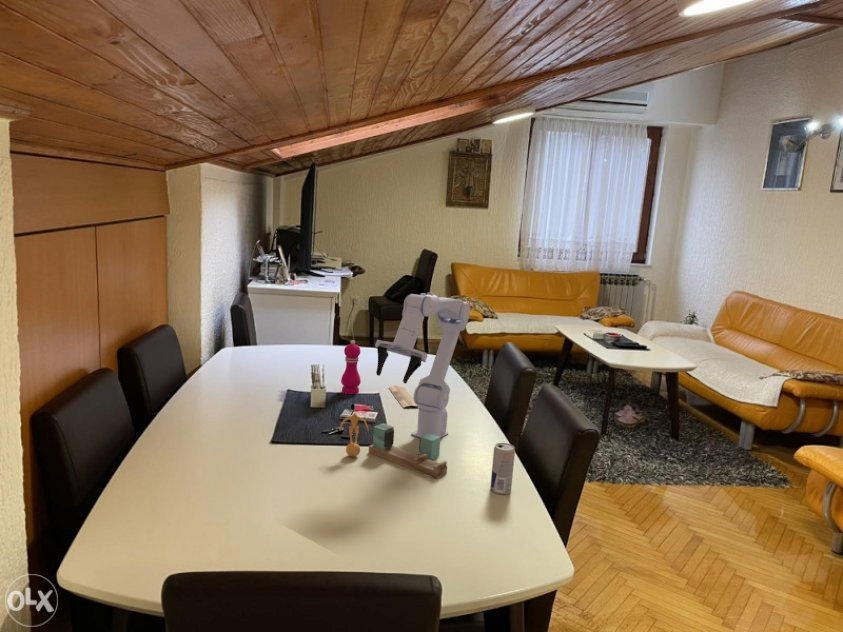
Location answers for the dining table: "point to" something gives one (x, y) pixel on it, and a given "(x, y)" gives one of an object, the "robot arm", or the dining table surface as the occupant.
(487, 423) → the dining table surface
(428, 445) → the block
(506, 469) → the energy drink
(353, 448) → the figurine
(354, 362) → the pepper mill
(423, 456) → the rail
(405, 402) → the tan flat bar
